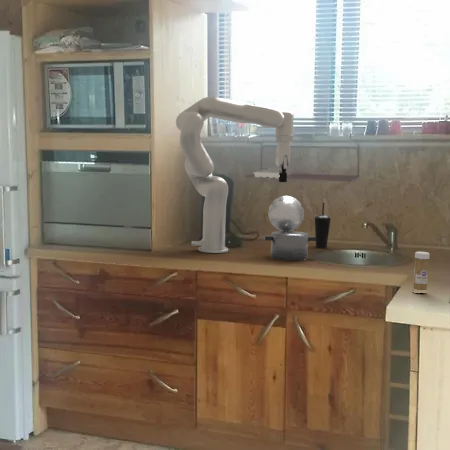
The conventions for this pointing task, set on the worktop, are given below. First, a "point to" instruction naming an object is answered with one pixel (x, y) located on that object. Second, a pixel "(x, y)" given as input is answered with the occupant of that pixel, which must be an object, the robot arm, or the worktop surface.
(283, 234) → the cooker pot
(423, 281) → the sprinkles bottle
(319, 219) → the drinking cup
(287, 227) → the lid
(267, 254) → the worktop surface
